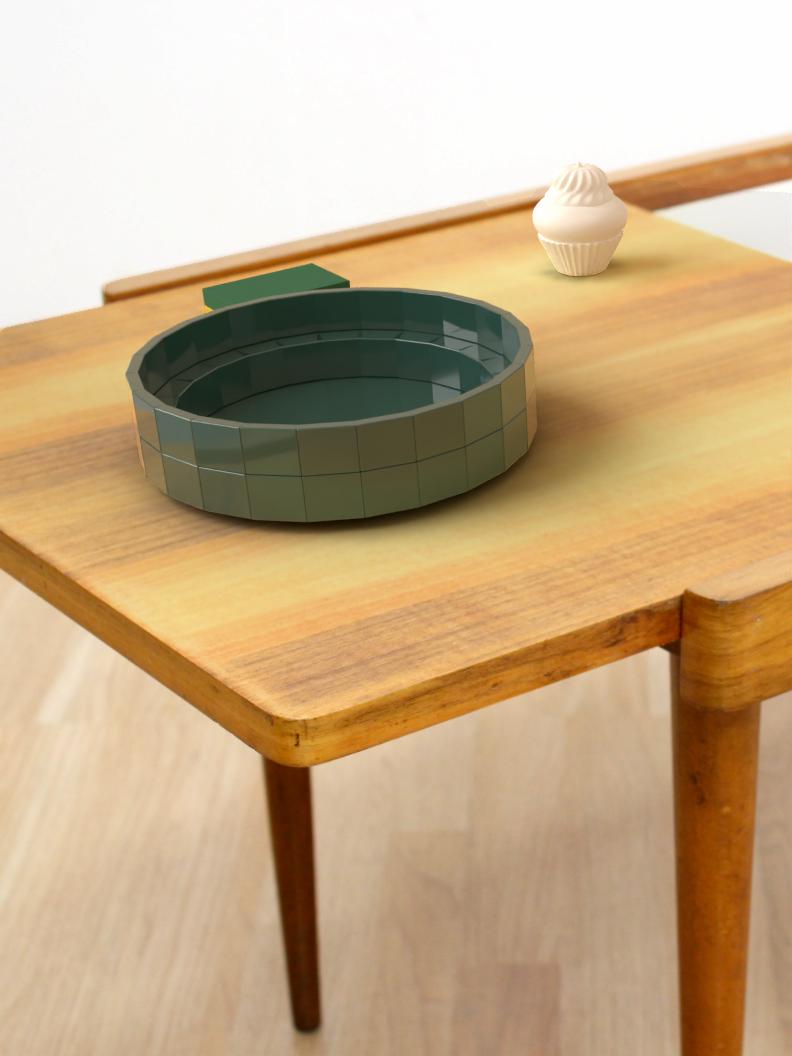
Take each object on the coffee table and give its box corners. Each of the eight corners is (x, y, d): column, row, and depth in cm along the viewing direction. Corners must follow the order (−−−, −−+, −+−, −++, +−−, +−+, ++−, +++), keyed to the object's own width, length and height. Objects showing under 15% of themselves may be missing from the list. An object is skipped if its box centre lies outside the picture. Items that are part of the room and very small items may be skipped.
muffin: (517, 277, 99) (511, 168, 96) (560, 251, 104) (557, 146, 101) (604, 288, 97) (601, 176, 94) (644, 260, 102) (643, 153, 98)
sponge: (246, 376, 85) (236, 307, 84) (211, 355, 89) (201, 288, 87) (356, 347, 89) (350, 280, 87) (319, 327, 92) (312, 262, 90)
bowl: (251, 576, 65) (235, 467, 62) (84, 437, 79) (66, 343, 76) (614, 454, 74) (613, 356, 72) (408, 349, 88) (400, 264, 86)
